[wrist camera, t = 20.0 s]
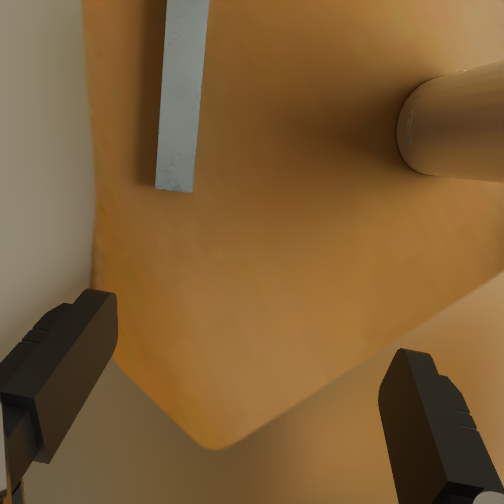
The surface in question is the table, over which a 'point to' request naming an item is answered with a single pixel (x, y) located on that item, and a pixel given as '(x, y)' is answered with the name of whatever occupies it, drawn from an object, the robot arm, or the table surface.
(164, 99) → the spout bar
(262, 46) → the table surface
